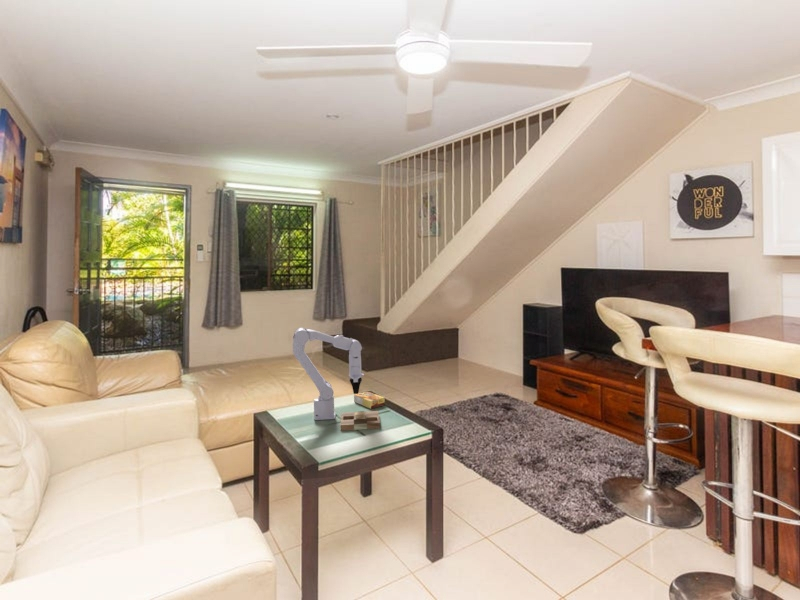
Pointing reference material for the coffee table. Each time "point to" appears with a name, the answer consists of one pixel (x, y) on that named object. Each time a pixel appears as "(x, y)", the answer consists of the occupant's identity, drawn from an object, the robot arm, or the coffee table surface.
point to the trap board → (360, 421)
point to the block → (360, 415)
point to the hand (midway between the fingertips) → (356, 393)
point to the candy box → (369, 399)
